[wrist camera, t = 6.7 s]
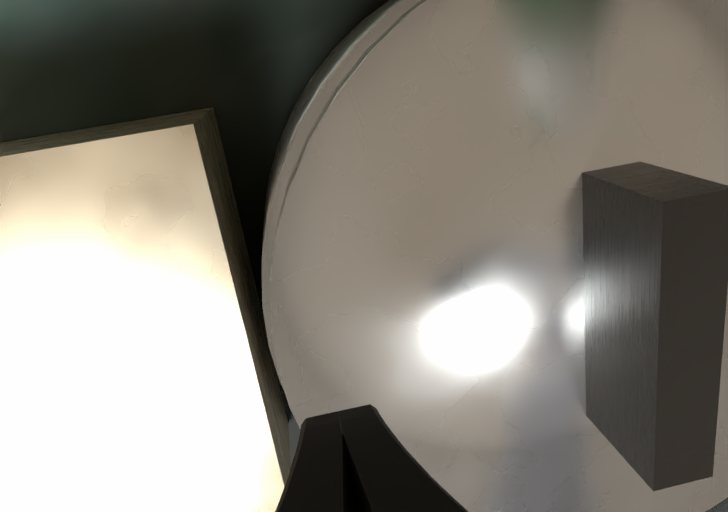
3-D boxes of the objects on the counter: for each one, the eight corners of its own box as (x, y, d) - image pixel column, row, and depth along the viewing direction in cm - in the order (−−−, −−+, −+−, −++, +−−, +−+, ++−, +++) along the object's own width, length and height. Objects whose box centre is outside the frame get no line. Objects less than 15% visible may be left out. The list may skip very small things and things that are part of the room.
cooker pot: (718, 442, 26) (818, 527, 21) (98, 594, 23) (54, 729, 18) (770, -193, 17) (952, -286, 13) (-187, -69, 15) (-398, -129, 10)
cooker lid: (833, 465, 20) (964, 560, 16) (333, 591, 18) (350, 731, 14) (932, -124, 14) (1184, -193, 10) (191, -15, 12) (156, -50, 8)
